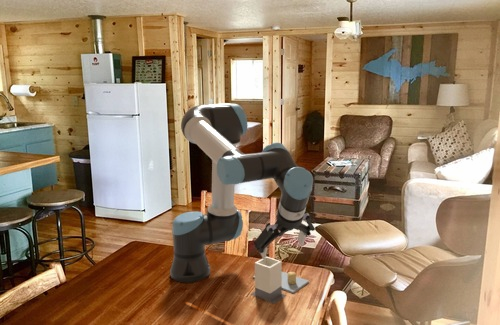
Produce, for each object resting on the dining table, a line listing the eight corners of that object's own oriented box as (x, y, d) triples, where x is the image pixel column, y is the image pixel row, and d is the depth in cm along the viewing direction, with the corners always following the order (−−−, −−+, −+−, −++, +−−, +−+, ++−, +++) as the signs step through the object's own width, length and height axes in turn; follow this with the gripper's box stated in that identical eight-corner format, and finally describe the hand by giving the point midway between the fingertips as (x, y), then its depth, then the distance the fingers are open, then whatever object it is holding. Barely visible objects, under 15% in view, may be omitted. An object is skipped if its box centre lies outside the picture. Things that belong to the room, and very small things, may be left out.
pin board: (252, 279, 153) (252, 267, 153) (269, 269, 161) (269, 258, 160) (293, 295, 142) (293, 282, 141) (308, 283, 149) (309, 271, 148)
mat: (250, 295, 142) (250, 294, 142) (263, 287, 147) (263, 286, 147) (273, 305, 136) (273, 304, 135) (286, 297, 141) (286, 295, 141)
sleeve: (255, 295, 141) (254, 262, 138) (266, 288, 146) (266, 256, 143) (270, 301, 137) (269, 268, 134) (281, 294, 142) (281, 261, 139)
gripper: (256, 234, 112) (250, 271, 128) (335, 208, 120) (320, 246, 136) (246, 213, 117) (241, 251, 133) (322, 189, 125) (309, 228, 140)
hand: (281, 248), depth 134 cm, fingers open, 13 cm apart
